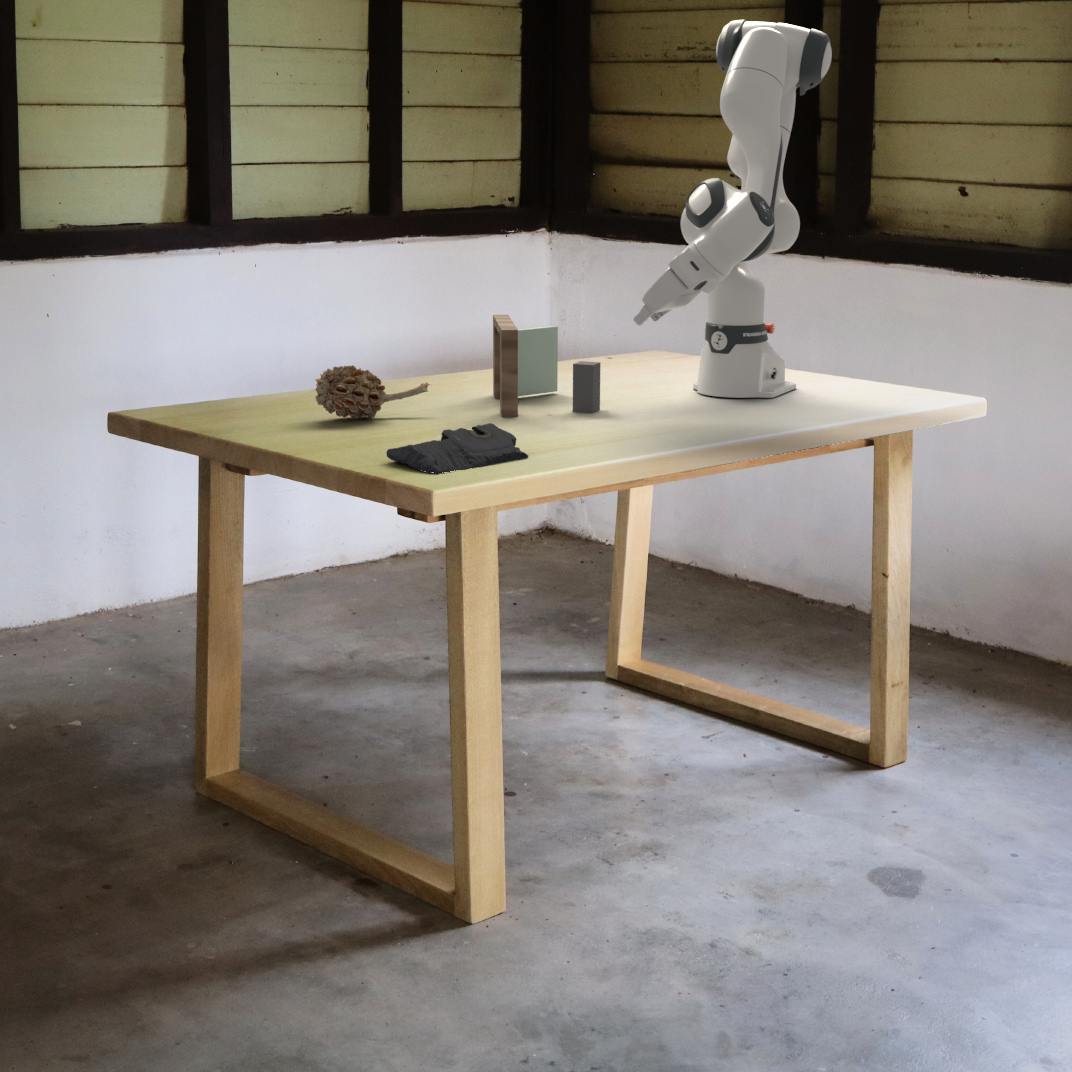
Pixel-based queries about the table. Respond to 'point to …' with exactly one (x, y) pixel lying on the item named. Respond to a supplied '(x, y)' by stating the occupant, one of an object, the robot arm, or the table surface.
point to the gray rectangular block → (586, 386)
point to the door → (537, 360)
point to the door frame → (505, 364)
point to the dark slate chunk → (460, 450)
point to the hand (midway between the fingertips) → (645, 320)
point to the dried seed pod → (355, 392)
